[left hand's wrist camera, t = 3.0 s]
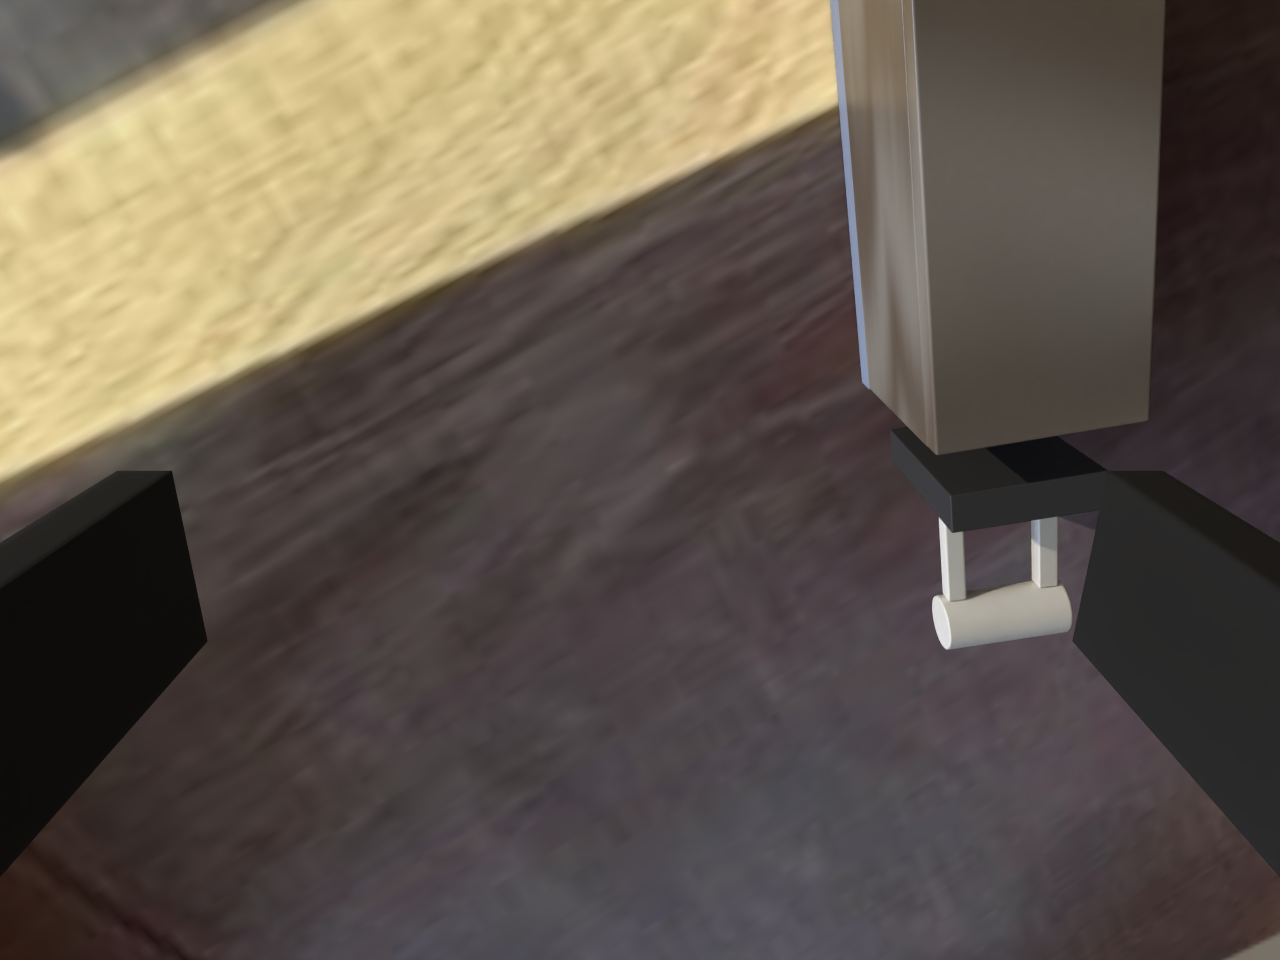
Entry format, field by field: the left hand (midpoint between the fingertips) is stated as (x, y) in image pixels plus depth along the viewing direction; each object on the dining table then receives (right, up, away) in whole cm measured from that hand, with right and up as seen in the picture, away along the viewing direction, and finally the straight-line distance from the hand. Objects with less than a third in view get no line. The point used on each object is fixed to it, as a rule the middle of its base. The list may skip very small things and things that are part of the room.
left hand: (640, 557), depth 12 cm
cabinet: (+9, +14, +14) cm, 22 cm away
